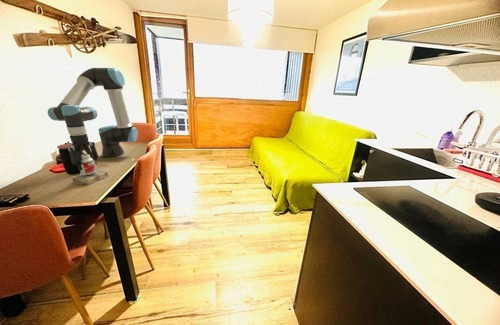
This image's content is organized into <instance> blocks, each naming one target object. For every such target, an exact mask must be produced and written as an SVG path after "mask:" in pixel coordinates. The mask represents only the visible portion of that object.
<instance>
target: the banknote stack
mask: <svg viewBox="0 0 500 325" xmlns="http://www.w3.org/2000/svg"><path fill="white" fill-rule="evenodd" d="M108 177H109V173H108V171H102V170H97V171H96V172H95V173H93V174H89V175H81V173H79V174H76V175H73V176H71V179H72V182H73V183H76V184H82V185H87V186H90V185H92V184H94V183H97V182H99V181H101V180H104V179H106V178H108Z"/></svg>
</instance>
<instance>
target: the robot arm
mask: <svg viewBox="0 0 500 325" xmlns="http://www.w3.org/2000/svg"><path fill="white" fill-rule="evenodd" d="M125 84H126V82H125V77H124V75H123V73H122V72H121V71H120V70H119V69H118V68H115V67H91V68H88V69H87V70H85V71H83V72H82V73H81V74H79V76H78V77H77V78H76V83H75V84H74V85H73V86H72V87H71V89H70V90H69V91H68V92H67V94H66V95H65V96H64V97H63V99H62V100H61V101H60V103H58V105H57V106H53V107H52V106H51V107H49V108H48V109H47V115H48V117H49V118H50V119H51V120H52V121H55V122H56V121H58V122H65V125H66V128H67V132H68V134H69V138H70V141H71V142H70V143H72V146H71V147H68V148H67V149H68V151H69V154H70V158H71V162H72V164H73V165H77V168H78V170H80V172H81V173H80V174H81V175H86V173H85V169H84V166H83V164H81V157H82V154H83V151H85V154H90V158H92V159H93V162H94V166H95V169H96V171H98V167H97V164H98V163H97V160H98V159H99V154H98V151H97V149H96V146H95V145H96V144H95V143H96V142H94V141H89V137H88V134H87V129H86V125H85V122H87V121H92V120H95V119H96V118H97V117H98V111H97V110H96V109H95V108H94V107H92V106H83V107H82V106H81V107H80V105H81V104H82V102H83V101H84V99H85V98H86V96H88V93H90V91H91V90H94V89H95V87H103V90H104V91H106V92H107V96H108V98H109V102H110V105H111V108H112V112H113V115H114V119H115V121H116V125H115V124H114V125H108V126H102V127H99V128H98V135H99V139H100V142H101V146H102V149H101V157H102V158H115V157H120V156H123V155H124V154H125V152H124V151H125V150H124V149H123V147H122V146H121V144H120V143H134V142H136V141H137V139H138V134H139V133H138V132H139V131H138V128H137V127H135V126H134V125H133V123H132V122H130V119H129V114H128V111H127V110H128V109H127V106H126V104H125V103H126V102H125V99H124V96H123V93H122V90H123V89H124V86H125ZM74 148H75V149H76V155H75V151H74V150H75V149H74Z"/></svg>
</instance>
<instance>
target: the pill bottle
mask: <svg viewBox="0 0 500 325" xmlns="http://www.w3.org/2000/svg"><path fill="white" fill-rule="evenodd" d="M81 164H83V166H84V169H85V173H86V175H89V174H93V173H95V172H96V169H95V166H94V162H93V159H92V158H90V154H87V153H85V154H83V155H82V157H81Z"/></svg>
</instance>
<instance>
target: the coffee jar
mask: <svg viewBox="0 0 500 325" xmlns="http://www.w3.org/2000/svg"><path fill="white" fill-rule="evenodd" d="M71 146H72V142H70V143H64V144H63V143H62V144H59V145H57V149H58V154H59V157H60V159H61V163H62V165H63V169H64V171H65V173H66V174H67V175H71V176H72V175H73V176H75V175H80V174H81V172H80V170H78V168H77V165H73V164H72V162H71V158H70V154H69V151H68V149H67V148H68V147H71ZM74 149H75V148H74ZM74 151H75V155H76V149H75V150H74ZM82 155H84V154H83V153H82Z"/></svg>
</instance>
